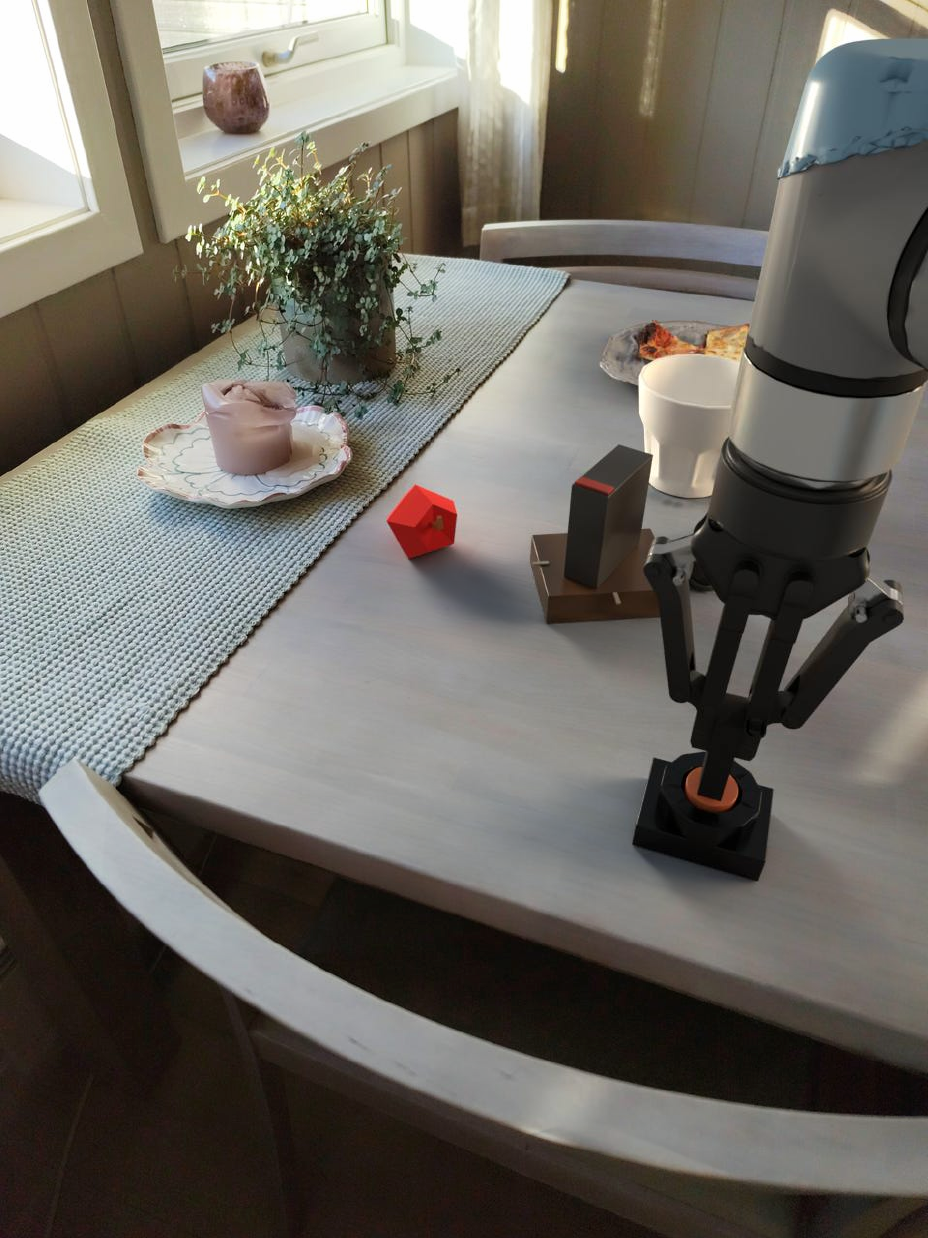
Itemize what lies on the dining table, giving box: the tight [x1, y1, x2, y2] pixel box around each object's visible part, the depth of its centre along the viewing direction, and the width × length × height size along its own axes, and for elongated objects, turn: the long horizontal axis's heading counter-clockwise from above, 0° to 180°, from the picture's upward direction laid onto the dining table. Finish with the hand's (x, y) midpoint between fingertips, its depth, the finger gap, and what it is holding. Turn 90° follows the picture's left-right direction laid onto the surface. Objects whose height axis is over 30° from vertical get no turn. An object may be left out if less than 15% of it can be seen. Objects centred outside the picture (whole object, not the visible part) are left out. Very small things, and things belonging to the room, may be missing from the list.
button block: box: [631, 750, 775, 882], centre depth 56 cm, size 8×6×4 cm
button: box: [683, 767, 738, 813], centre depth 55 cm, size 3×3×2 cm
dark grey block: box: [564, 444, 653, 589], centre depth 72 cm, size 8×3×9 cm, turn 145°
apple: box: [386, 484, 458, 560], centre depth 80 cm, size 7×7×8 cm
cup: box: [638, 354, 740, 499], centre depth 88 cm, size 12×12×11 cm
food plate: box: [599, 319, 750, 387], centre depth 111 cm, size 25×23×4 cm
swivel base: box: [529, 527, 660, 625], centre depth 76 cm, size 12×12×3 cm
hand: (711, 781), depth 55 cm, fingers closed
